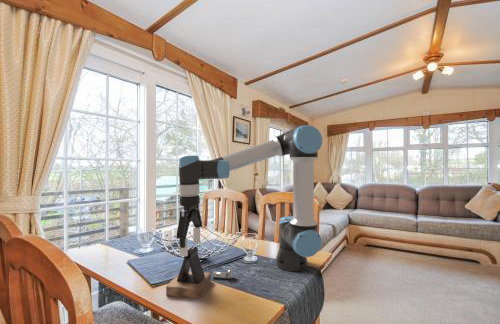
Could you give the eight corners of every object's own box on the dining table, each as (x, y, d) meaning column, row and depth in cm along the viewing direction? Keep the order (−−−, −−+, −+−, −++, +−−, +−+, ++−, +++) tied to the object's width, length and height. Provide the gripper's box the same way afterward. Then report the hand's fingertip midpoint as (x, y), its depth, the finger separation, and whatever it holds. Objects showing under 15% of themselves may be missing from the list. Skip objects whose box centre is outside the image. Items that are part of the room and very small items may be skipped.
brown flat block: (210, 281, 104) (210, 272, 104) (200, 298, 91) (200, 288, 91) (180, 279, 106) (180, 270, 106) (166, 295, 93) (166, 286, 93)
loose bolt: (232, 276, 108) (232, 267, 108) (230, 280, 104) (230, 271, 104) (214, 275, 109) (214, 266, 109) (211, 279, 105) (211, 270, 105)
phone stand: (176, 281, 96) (176, 250, 96) (184, 274, 102) (184, 245, 102) (198, 284, 94) (198, 252, 94) (204, 277, 100) (204, 247, 100)
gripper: (192, 190, 111) (193, 238, 111) (165, 200, 86) (166, 261, 86) (208, 190, 110) (209, 238, 110) (186, 200, 85) (187, 262, 85)
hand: (190, 249), depth 98 cm, fingers open, 13 cm apart
